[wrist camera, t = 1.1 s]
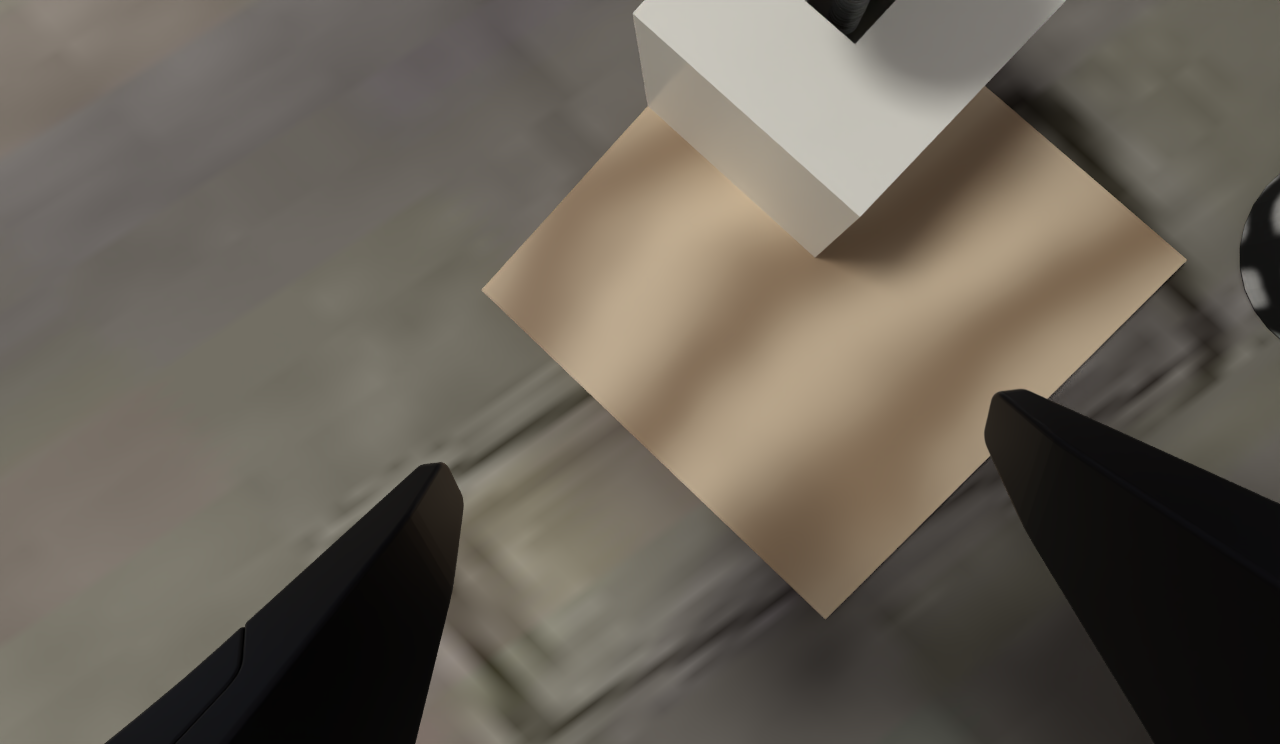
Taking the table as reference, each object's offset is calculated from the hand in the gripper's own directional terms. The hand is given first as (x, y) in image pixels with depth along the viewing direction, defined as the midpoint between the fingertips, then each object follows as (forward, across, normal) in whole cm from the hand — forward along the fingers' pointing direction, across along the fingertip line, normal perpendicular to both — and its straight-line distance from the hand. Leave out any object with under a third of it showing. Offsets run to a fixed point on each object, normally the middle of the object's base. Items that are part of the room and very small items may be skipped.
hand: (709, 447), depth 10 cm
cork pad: (+14, -5, +4) cm, 15 cm away
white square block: (+18, -6, -2) cm, 19 cm away
